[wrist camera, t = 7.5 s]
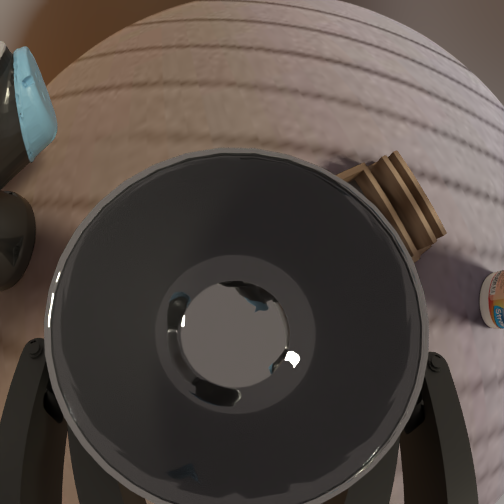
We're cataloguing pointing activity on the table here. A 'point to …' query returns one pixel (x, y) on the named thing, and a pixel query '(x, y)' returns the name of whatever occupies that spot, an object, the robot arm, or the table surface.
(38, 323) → the table surface
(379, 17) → the table surface
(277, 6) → the table surface
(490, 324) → the fruit juice
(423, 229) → the wooden tray
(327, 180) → the silver goblet
